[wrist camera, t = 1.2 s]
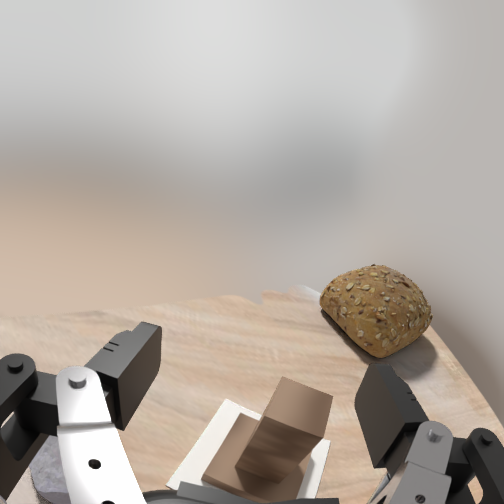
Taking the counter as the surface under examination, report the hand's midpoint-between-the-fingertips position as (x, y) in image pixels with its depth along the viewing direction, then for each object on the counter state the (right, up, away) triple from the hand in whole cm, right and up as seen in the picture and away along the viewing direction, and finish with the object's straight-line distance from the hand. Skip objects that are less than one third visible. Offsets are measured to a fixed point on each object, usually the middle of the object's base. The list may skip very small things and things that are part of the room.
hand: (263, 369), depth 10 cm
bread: (+25, -11, +47) cm, 54 cm away
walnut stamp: (0, -18, +14) cm, 23 cm away
